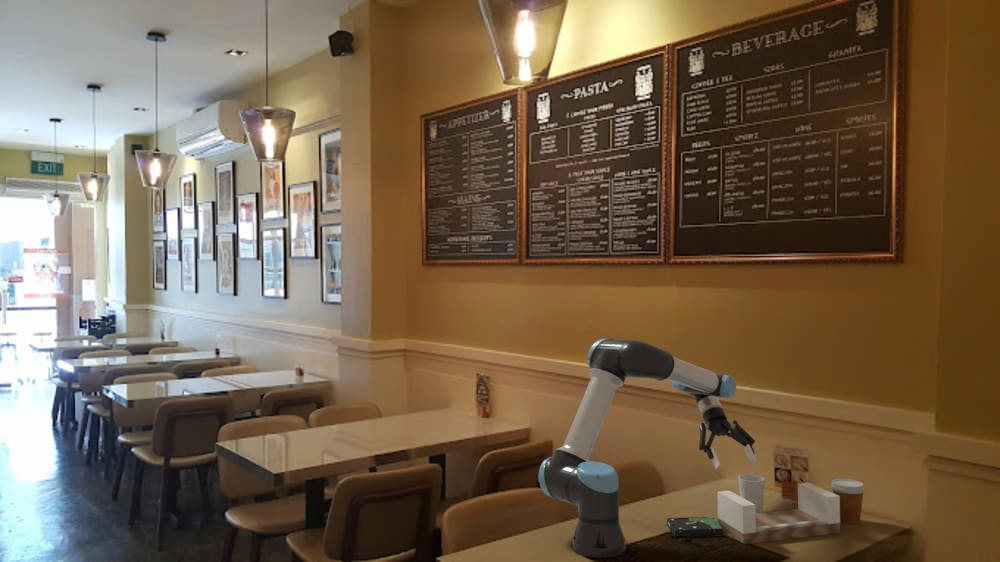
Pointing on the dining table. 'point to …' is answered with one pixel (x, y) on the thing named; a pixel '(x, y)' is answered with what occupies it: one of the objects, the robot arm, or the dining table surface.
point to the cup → (752, 490)
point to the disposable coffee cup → (849, 499)
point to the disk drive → (695, 526)
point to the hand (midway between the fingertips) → (736, 465)
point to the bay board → (782, 527)
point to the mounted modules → (809, 501)
